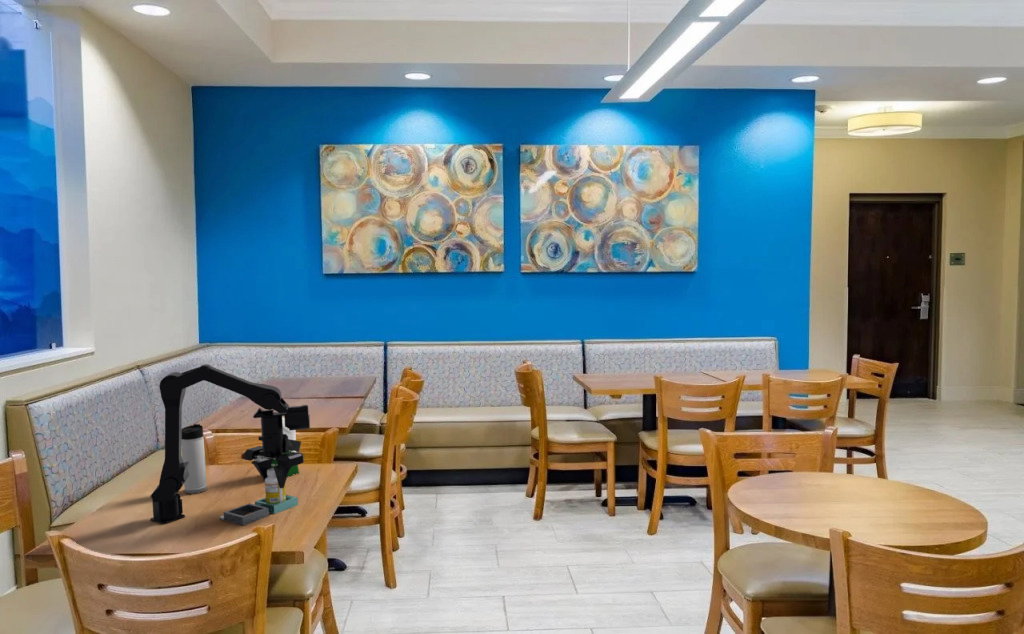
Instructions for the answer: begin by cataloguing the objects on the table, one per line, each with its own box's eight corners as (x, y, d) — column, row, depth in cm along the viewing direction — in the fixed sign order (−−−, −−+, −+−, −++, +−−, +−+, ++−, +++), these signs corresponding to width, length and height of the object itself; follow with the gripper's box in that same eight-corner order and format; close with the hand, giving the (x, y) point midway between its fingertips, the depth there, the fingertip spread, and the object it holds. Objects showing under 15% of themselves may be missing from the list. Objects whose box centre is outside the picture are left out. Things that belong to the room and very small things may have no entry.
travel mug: (211, 487, 225) (207, 423, 224) (200, 494, 219) (195, 428, 217) (192, 487, 226) (188, 424, 224) (180, 494, 219) (176, 429, 218)
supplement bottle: (279, 498, 208) (277, 465, 208) (289, 502, 205) (288, 468, 204) (262, 504, 204) (260, 470, 203) (273, 507, 201) (271, 473, 200)
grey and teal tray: (243, 525, 191) (242, 517, 190) (219, 519, 196) (218, 511, 196) (298, 504, 206) (297, 497, 206) (274, 499, 211) (274, 491, 211)
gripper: (317, 429, 205) (320, 483, 206) (274, 422, 215) (276, 474, 216) (285, 438, 195) (288, 494, 196) (241, 430, 205) (244, 484, 207)
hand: (275, 486), depth 204 cm, fingers open, 5 cm apart
